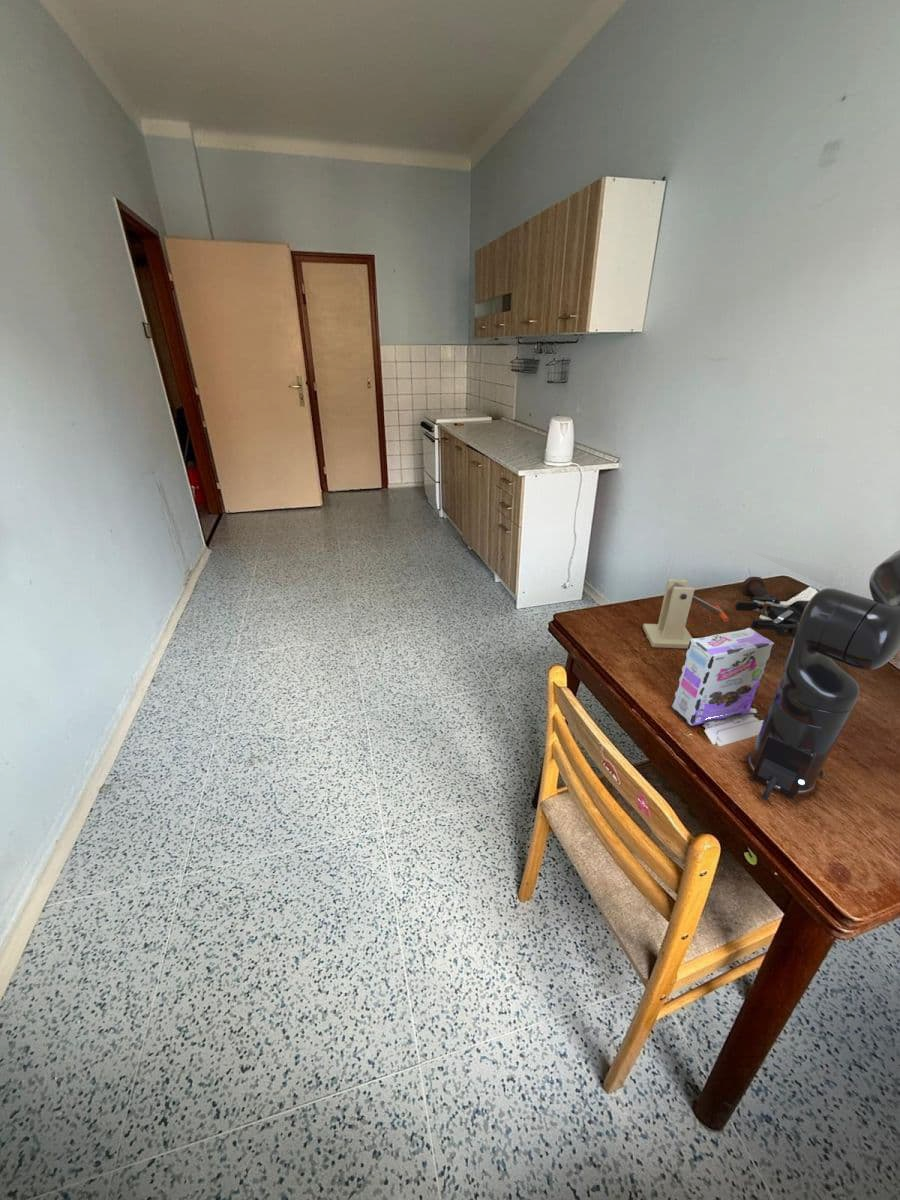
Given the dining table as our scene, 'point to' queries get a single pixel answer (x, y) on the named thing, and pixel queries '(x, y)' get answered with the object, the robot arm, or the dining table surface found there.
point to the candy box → (721, 675)
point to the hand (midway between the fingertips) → (744, 614)
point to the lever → (706, 605)
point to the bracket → (672, 617)
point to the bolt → (756, 588)
